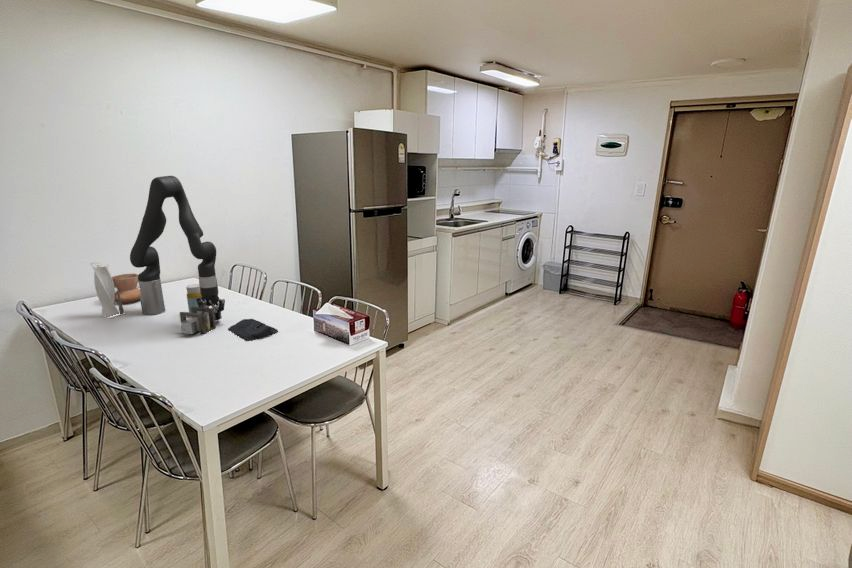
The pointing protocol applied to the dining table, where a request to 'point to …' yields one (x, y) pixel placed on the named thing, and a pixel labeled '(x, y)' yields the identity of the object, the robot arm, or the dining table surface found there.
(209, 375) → the dining table surface
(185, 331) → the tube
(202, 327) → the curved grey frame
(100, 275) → the skyscraper
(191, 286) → the bottle
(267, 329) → the dark slate chunk
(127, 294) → the ceramic jug
